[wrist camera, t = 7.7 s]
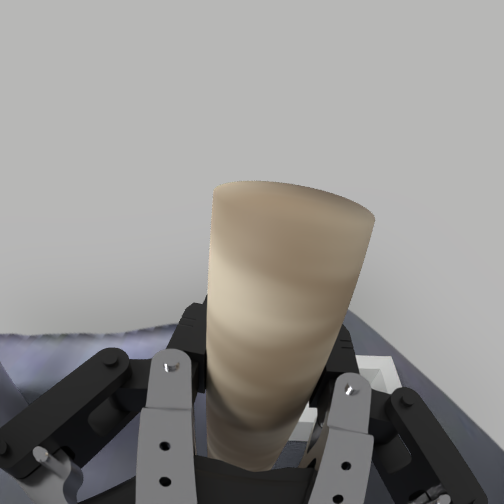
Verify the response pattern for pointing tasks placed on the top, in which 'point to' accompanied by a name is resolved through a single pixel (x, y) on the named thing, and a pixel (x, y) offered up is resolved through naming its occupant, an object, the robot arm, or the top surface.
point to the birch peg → (274, 309)
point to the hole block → (371, 368)
